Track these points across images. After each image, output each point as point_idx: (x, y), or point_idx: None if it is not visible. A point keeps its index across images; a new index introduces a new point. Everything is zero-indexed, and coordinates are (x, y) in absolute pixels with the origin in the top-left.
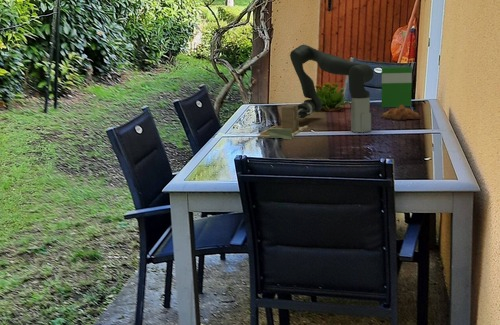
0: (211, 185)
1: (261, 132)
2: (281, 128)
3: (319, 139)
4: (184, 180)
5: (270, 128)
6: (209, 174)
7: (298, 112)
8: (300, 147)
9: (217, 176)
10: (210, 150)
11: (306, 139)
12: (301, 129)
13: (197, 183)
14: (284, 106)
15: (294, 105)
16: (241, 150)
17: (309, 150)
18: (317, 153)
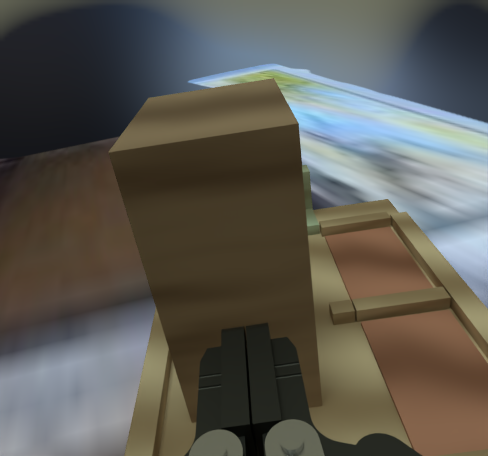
0: (219, 75)
1: (413, 221)
2: (417, 412)
3: (15, 279)
4: (273, 69)
5: (302, 169)
6: (252, 80)
7: (196, 450)
8: (109, 185)
9: (233, 81)
10: (399, 107)
11: (92, 261)
12: (144, 368)
13: (244, 72)
14: (258, 89)
15: (153, 127)
16: (302, 128)
17: (74, 176)
18: (49, 169)
